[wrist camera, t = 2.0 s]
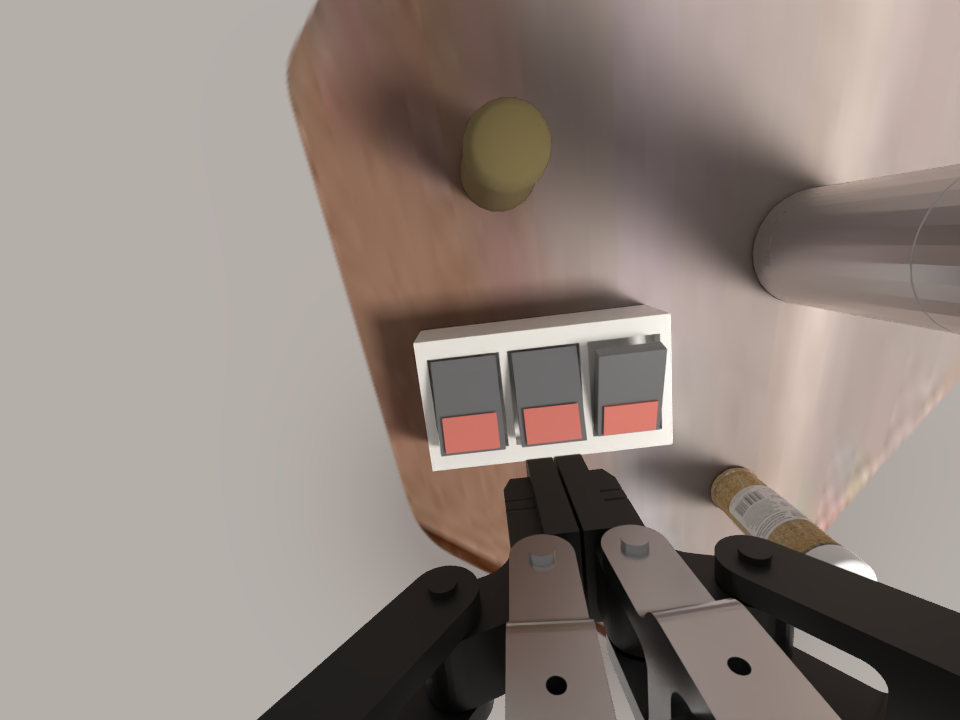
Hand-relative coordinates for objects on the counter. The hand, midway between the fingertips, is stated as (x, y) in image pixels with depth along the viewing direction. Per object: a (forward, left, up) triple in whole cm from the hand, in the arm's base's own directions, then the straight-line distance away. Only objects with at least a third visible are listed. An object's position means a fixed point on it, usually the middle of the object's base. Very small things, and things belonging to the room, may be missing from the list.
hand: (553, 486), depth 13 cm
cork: (+2, -12, -27) cm, 30 cm away
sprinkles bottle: (-24, +12, -27) cm, 38 cm away
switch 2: (-10, +2, -22) cm, 24 cm away
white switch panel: (-4, +4, -27) cm, 28 cm away
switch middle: (-4, +4, -22) cm, 23 cm away
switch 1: (+2, +6, -22) cm, 23 cm away
